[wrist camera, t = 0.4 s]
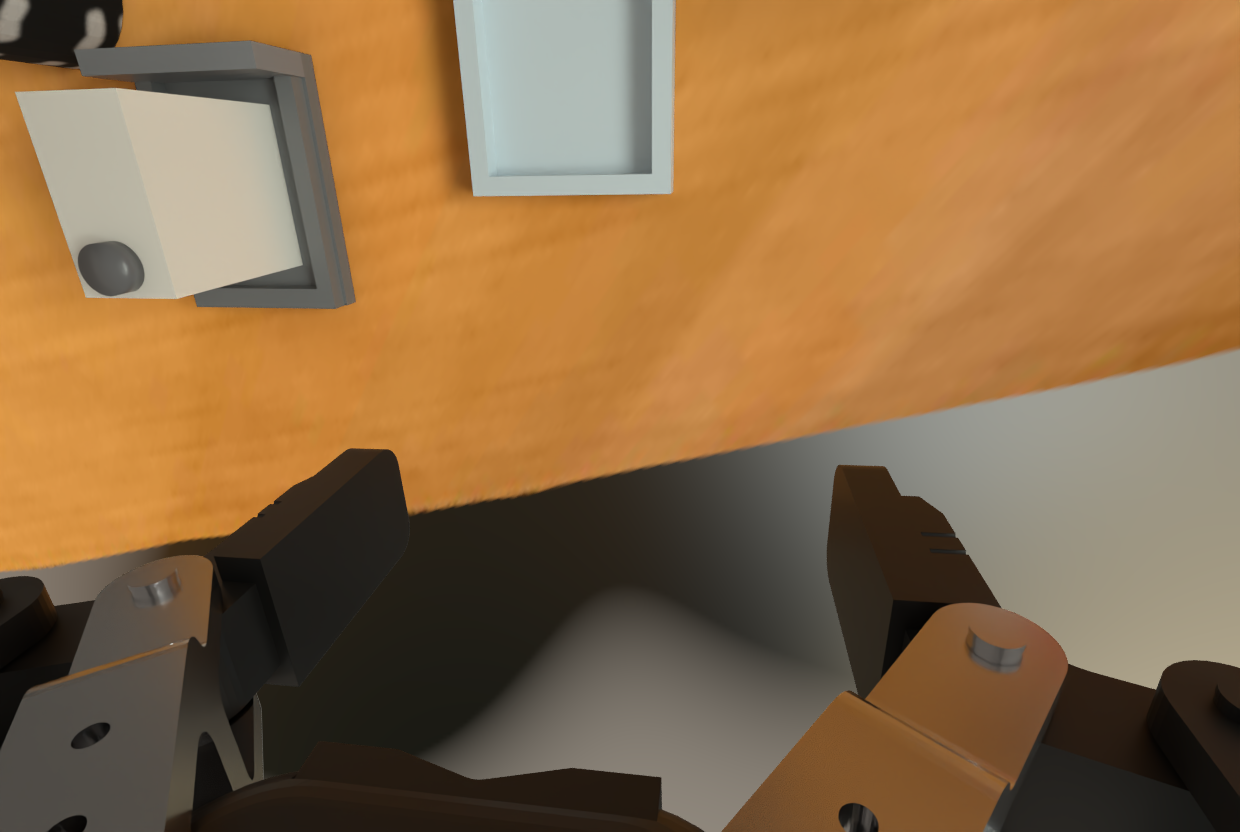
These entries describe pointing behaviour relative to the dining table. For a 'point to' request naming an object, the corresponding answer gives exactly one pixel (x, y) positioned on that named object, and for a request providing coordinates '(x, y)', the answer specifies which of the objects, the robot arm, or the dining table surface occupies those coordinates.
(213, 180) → the white block with knob
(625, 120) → the tray
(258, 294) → the bay
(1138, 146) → the dining table surface
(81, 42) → the white-spotted black cylinder
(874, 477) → the robot arm
